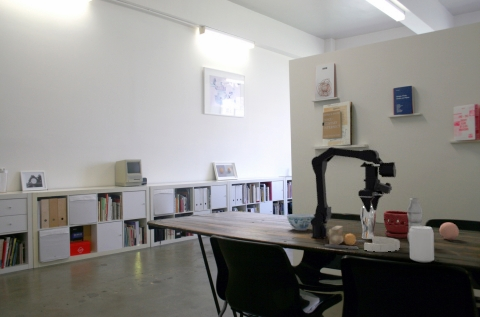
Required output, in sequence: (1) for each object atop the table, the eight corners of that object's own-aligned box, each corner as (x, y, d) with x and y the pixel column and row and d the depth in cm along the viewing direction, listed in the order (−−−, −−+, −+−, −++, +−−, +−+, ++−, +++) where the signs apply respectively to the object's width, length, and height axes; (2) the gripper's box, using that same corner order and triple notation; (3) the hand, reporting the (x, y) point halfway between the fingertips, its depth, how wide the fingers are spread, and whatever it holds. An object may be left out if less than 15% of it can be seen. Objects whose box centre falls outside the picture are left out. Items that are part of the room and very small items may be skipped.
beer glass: (377, 239, 186) (376, 207, 186) (361, 239, 187) (361, 207, 187) (375, 237, 192) (374, 206, 193) (360, 236, 194) (359, 206, 194)
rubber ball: (343, 245, 173) (342, 234, 173) (345, 243, 177) (345, 232, 178) (354, 246, 171) (354, 235, 171) (357, 244, 175) (357, 233, 175)
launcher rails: (324, 246, 171) (324, 244, 171) (334, 240, 185) (334, 238, 185) (357, 249, 165) (357, 247, 165) (365, 242, 179) (365, 240, 179)
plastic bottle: (422, 242, 177) (421, 197, 178) (424, 245, 171) (422, 199, 171) (406, 241, 179) (405, 197, 180) (407, 244, 173) (406, 198, 173)
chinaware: (314, 231, 211) (314, 217, 211) (286, 231, 214) (286, 217, 214) (314, 227, 226) (314, 214, 226) (288, 227, 229) (287, 213, 229)
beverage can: (405, 258, 148) (404, 225, 149) (426, 257, 149) (425, 225, 149) (417, 263, 140) (416, 229, 141) (438, 262, 141) (438, 228, 141)
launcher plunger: (329, 245, 172) (329, 229, 173) (336, 240, 183) (336, 225, 183) (336, 246, 171) (336, 229, 171) (343, 241, 182) (343, 226, 182)
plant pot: (383, 238, 190) (383, 213, 190) (384, 233, 202) (384, 210, 202) (413, 239, 185) (412, 213, 185) (412, 235, 197) (411, 210, 197)
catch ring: (364, 250, 162) (363, 243, 162) (372, 242, 178) (372, 236, 179) (396, 253, 156) (396, 245, 156) (402, 245, 173) (401, 238, 173)
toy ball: (458, 238, 186) (457, 221, 186) (459, 241, 179) (459, 224, 179) (439, 237, 189) (438, 221, 189) (439, 240, 182) (439, 223, 182)
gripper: (383, 178, 169) (383, 214, 169) (395, 176, 184) (395, 210, 184) (357, 177, 176) (358, 212, 175) (371, 176, 191) (371, 208, 190)
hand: (371, 211), depth 181 cm, fingers open, 9 cm apart
